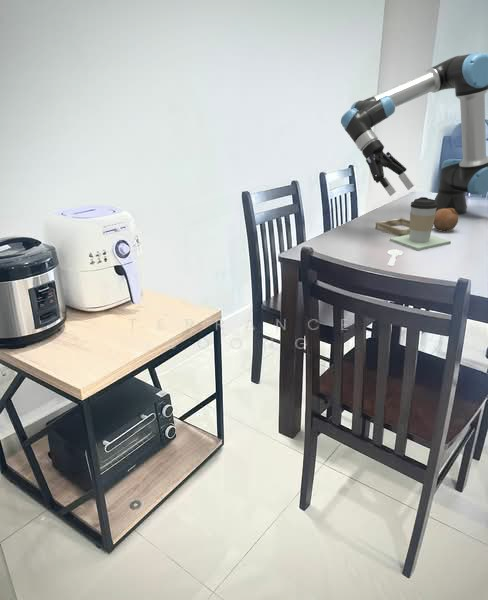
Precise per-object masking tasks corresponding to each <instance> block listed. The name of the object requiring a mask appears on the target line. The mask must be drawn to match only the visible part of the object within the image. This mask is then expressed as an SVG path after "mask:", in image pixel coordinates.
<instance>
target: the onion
mask: <svg viewBox="0 0 488 600" xmlns="http://www.w3.org/2000/svg"><path fill="white" fill-rule="evenodd" d="M435 213H436V215H435V219H434V224H433V227H434V228H435V230H436V231H441V232H449V231H451V230H453V229H454V228H456V226H457V225H458V222H459V217H458V216H459V215H458V214H457V212H456V210H455V209H453V208H443V209H439V210H437V211H436V212H435Z"/></svg>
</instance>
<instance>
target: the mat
mask: <svg viewBox="0 0 488 600" xmlns="http://www.w3.org/2000/svg"><path fill="white" fill-rule="evenodd" d="M409 237H410V234H409V235H404V236H395V237H390V238H389V242H392V243H395V244H397V245H399V246H400V245H401V246H403V247H406V248H408V249H412V250H415V251H417V252H419V251H423V250H428V249H433V248H437V247H442V246H446V245H450V244H451V242H452V241H451V240H449V239H448V240H447V239H445V238H442V237H438V236H435V235H432V234H431V235H430V239H429V241H428V242H414V241H411V240H410V239H409Z"/></svg>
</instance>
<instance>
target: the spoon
mask: <svg viewBox="0 0 488 600" xmlns="http://www.w3.org/2000/svg"><path fill="white" fill-rule="evenodd" d="M386 254H387V255H389V256H390V259H389V260H388V261H387V262H388V263H387V264H386V265H387V266H388V267H395V266H396V259H397V257H401V256H403V254H404V251H403V250H401V249H396V248H394V249H389V250H387V252H386Z"/></svg>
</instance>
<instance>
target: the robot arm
mask: <svg viewBox="0 0 488 600" xmlns="http://www.w3.org/2000/svg"><path fill="white" fill-rule="evenodd" d="M450 89H454V93H455V94H454V95H455V97H456V98H457V99H458V100H459V103H460V125H461V126H460V127H461V129H460V130H461V147H462V158H461V159H447V160H444V161H443V162H442V165H441V168H440V176H439V182H438V187H437V188H438V190H437V194H436V195H435V198H434V200H435V202H436V203H437V208H436V211H437V210H439V209H443V208H453V209H455V210H456V212H457V215H461V214H465V213H466V212H467V209H468V206H467V198H466V193H467V194H471V195H478V196H481V195H484V194H486V193H488V155H487V142H486V141H487V139H486V138H487V135H486V97H485V96H486V93H488V53H484V52H475V53H469V54H468V53H467V54H464V55H456V56H454V57H451V58H448V59H446V60H445V61H442V62H440V63H438V64H437V65H434V66H432V67H429V68H428V69H427V70H426V72H424V73H423V74H420V75H418V76H416V77H414V78H411V79H409V80H406V81H405V82H402V83H400V84H397V85H394V86H393V87H391V88H389V89H385V90H383V91H382V92H380V93H377V94H374V95H373V96H371V97H368V98H365V99H363V100H358V101H355V102H354V103H353V104H352V105H351V106H350V109H348V110H347V111H346V112H345V113H344V114H343V115H342V116H341V117H340V124H341V126H342V127H343V129H344V131H345V132H346V133H347V134H348V136H349V138H351V140H352V141H353V143H354V144H355V146H356V147H357V149H358V150H359V151H360V152H361V154H362V155H363V157H364V158H365V162H366V163H367V165H368V167H369V171H370V173H371V176H372V179H373V181H375V182H376V183H377V184H378V183H380V184H381V186H382V187H383V188H384V190H385V191H386V192H387V194H388V195H389V197H391V196H393V195H394V194H395V193H396V192H397V190H396V188H395V187H394V186H393V184H392V183H391V181H390V180H389V178H388V177H387V176H385V172H384V168H388V169H389V170H391V171H392V172H394V173H395V174H397V175H398V179H399V180H400V181H401V182H402V184H403V185H404V187H405V188H406V189H407V191H409V190H411V189H412V188H413V187H414V186H415V184H414V182H413V181H412V180H411V178H410V177H409V176H408V174H407V173H406V172H407V167H405V165H403V164H402V163H401V162H399V161H398V160H397V159H396V158H395V157H394V156H393V155H392V153H390V152H389V151H387V152H386V153H385V152H384V148H385V145H384V144H383V143H382V142H381V140H380V139H379V137H378V136H377V134H376V133H375V131H373V130H372V128H373V127H375V126H376V125H378V124H380V123H382V122H383V121H384V120H386V119H388V118H389V117H391V116H392V115H393V114H394V113H395V112H396V108H397V107H399V106H401V105H404V104H406V103H408V102H410V101H413V100H415V99H417V98H420V97H422V96H424V95H427V94H428V93H433V94H435V93H438V92H439V91H443V90H450Z"/></svg>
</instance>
